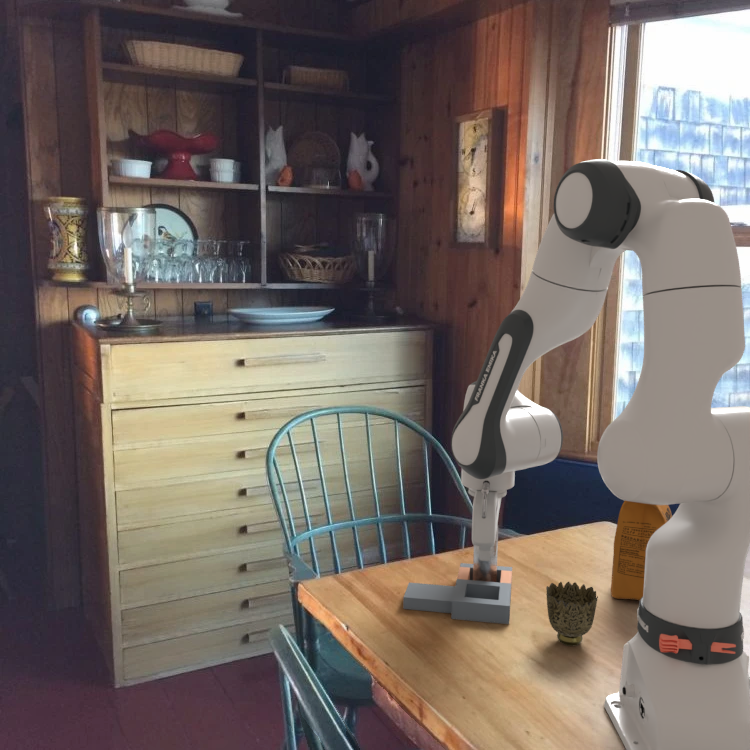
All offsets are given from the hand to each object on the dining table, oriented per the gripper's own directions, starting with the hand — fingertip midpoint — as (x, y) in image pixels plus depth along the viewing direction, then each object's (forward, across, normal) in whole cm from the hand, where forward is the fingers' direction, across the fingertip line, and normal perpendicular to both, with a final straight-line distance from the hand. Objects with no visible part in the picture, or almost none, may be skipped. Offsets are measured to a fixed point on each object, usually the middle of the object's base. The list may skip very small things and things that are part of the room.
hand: (485, 553), depth 135 cm
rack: (+7, -3, +4) cm, 9 cm away
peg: (+5, 0, 0) cm, 5 cm away
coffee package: (+7, +6, -26) cm, 28 cm away
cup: (+7, -15, -13) cm, 22 cm away
